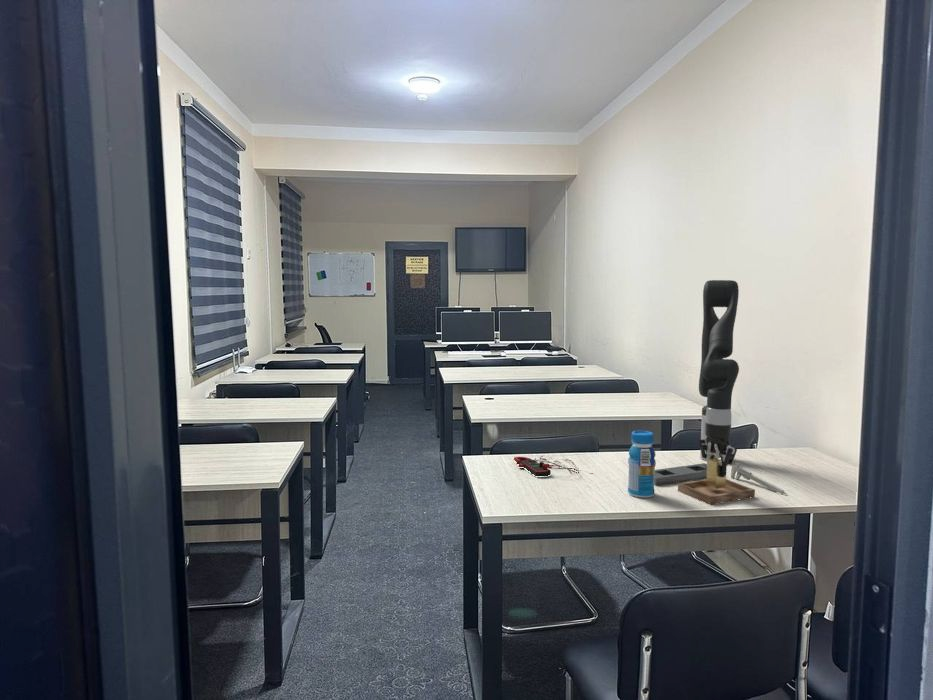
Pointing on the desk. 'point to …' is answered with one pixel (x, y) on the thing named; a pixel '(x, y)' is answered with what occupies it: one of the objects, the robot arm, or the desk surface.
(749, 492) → the tray
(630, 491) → the beverage bottle
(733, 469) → the caliper
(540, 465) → the digital clamp meter
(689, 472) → the rail
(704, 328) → the robot arm
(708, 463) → the peg
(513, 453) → the desk surface
